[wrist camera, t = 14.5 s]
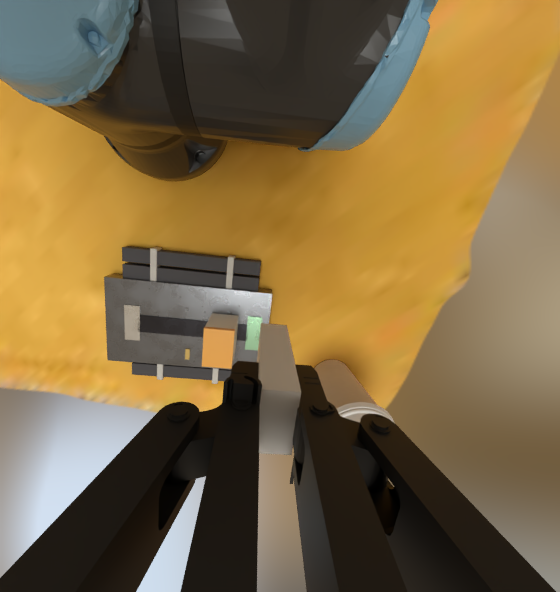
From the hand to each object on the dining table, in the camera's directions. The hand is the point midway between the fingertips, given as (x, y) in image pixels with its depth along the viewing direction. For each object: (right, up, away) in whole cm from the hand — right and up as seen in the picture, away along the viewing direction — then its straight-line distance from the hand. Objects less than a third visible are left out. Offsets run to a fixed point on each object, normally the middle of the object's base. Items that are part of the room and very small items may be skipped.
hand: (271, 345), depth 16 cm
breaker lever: (-7, -2, +23) cm, 24 cm away
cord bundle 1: (-11, +7, +23) cm, 26 cm away
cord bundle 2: (-13, -8, +27) cm, 31 cm away
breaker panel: (-12, -1, +25) cm, 28 cm away
